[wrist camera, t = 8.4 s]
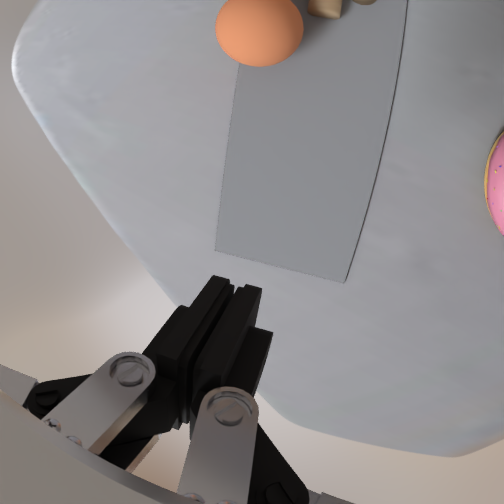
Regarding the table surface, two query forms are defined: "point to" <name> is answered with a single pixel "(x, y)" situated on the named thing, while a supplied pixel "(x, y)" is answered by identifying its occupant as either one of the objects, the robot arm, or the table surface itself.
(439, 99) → the table surface
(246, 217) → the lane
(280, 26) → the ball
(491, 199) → the doughnut
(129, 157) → the table surface
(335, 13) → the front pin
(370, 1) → the pin
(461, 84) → the table surface
